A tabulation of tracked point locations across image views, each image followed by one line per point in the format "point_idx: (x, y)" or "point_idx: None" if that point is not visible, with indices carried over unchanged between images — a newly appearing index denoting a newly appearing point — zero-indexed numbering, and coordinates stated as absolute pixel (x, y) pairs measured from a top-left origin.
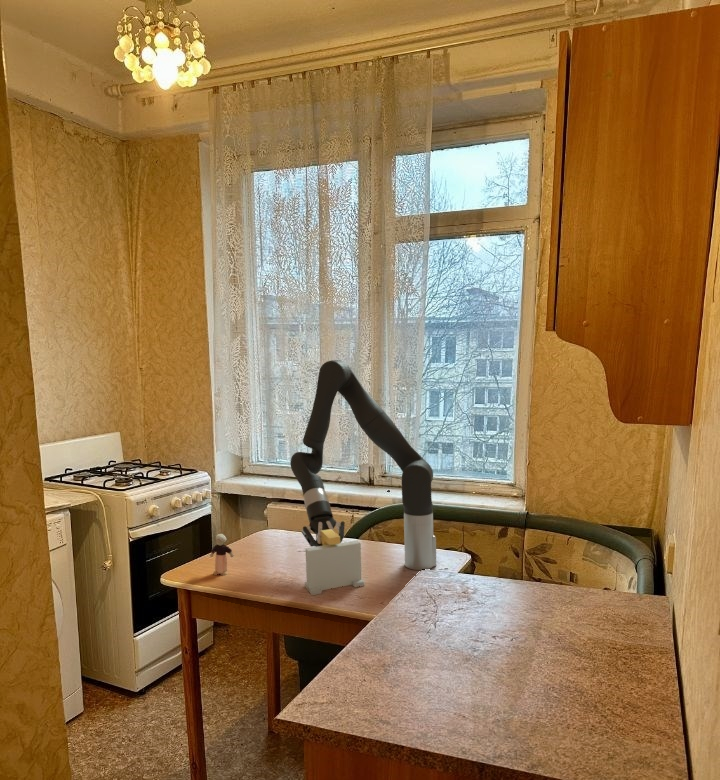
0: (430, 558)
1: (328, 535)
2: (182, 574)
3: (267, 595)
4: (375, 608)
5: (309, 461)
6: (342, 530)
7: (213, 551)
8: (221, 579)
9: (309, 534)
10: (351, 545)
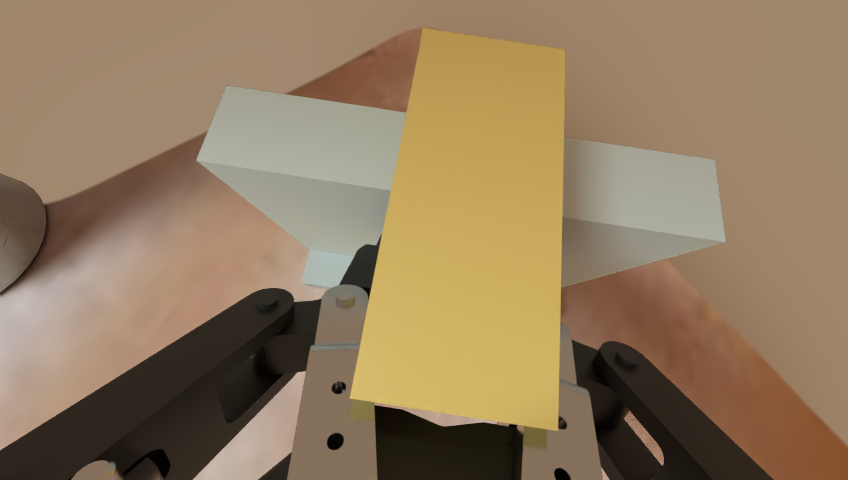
0: None
1: (533, 135)
2: None
3: (720, 323)
4: (406, 35)
5: None
6: (172, 366)
7: None
8: None
9: (724, 463)
10: (317, 103)
